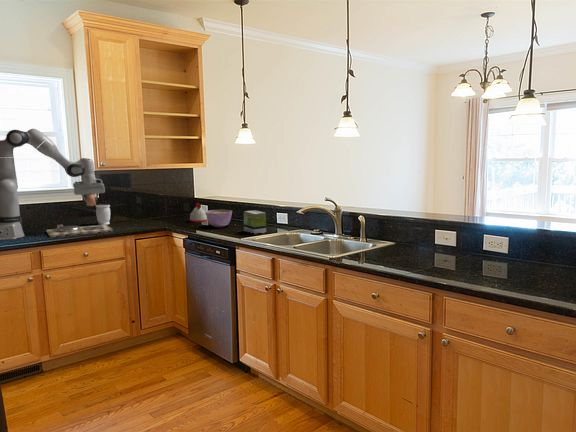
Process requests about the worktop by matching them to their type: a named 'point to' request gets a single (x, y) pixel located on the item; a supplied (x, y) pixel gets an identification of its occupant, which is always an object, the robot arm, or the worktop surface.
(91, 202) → the pinkish brown cylinder
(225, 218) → the purple rounded bowl
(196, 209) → the kitchen timer
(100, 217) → the jar
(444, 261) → the worktop surface
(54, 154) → the robot arm
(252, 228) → the tea box
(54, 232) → the board
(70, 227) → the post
